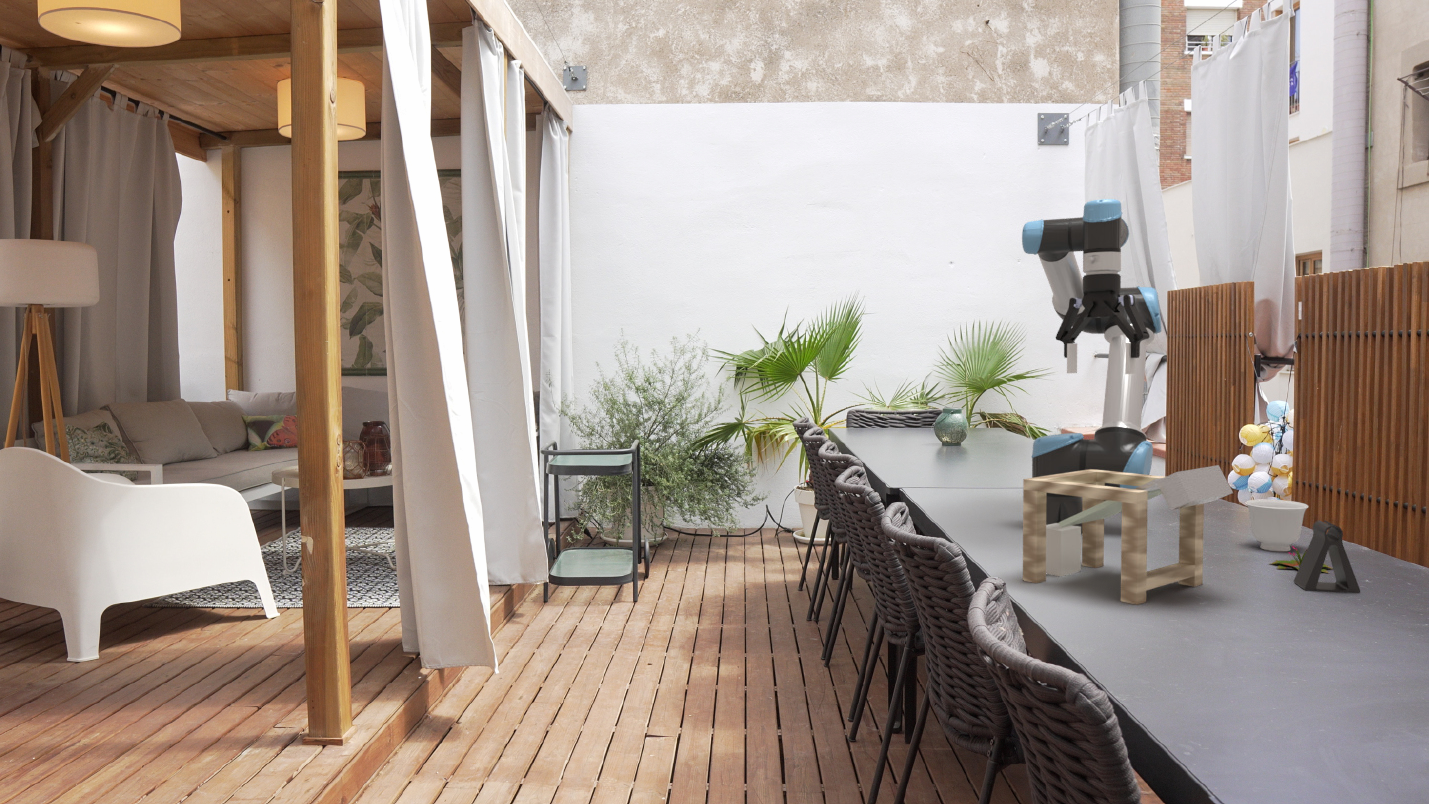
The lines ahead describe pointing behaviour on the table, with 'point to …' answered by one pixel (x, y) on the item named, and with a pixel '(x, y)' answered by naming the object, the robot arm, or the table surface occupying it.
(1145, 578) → the trapdoor frame
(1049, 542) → the white rectangular block
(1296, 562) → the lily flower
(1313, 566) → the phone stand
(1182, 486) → the trapdoor
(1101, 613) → the table surface
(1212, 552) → the table surface
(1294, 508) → the teacup
